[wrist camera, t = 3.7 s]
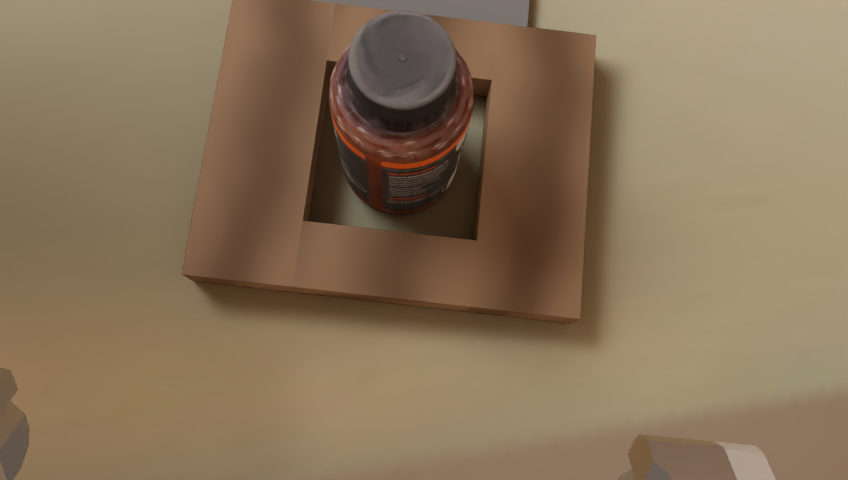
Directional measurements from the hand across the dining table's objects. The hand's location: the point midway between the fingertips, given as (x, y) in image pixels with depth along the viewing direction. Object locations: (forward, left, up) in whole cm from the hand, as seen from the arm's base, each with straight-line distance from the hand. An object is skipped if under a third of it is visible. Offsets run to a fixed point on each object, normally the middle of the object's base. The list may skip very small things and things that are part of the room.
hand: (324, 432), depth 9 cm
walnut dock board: (0, +12, -25) cm, 28 cm away
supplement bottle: (0, +12, -25) cm, 28 cm away
